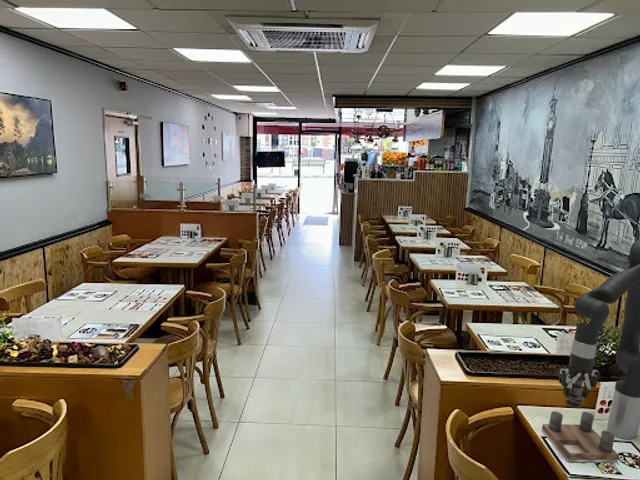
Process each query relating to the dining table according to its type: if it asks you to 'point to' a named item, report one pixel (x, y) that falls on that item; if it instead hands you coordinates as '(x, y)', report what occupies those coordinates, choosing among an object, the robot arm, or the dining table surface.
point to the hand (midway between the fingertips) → (575, 396)
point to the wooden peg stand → (580, 440)
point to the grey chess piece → (575, 395)
